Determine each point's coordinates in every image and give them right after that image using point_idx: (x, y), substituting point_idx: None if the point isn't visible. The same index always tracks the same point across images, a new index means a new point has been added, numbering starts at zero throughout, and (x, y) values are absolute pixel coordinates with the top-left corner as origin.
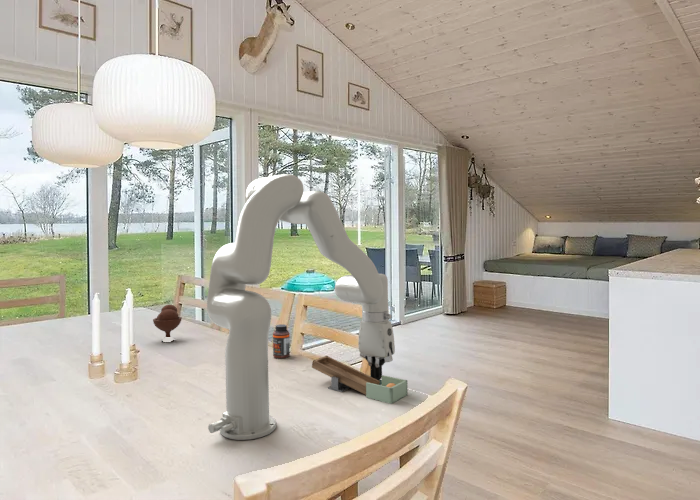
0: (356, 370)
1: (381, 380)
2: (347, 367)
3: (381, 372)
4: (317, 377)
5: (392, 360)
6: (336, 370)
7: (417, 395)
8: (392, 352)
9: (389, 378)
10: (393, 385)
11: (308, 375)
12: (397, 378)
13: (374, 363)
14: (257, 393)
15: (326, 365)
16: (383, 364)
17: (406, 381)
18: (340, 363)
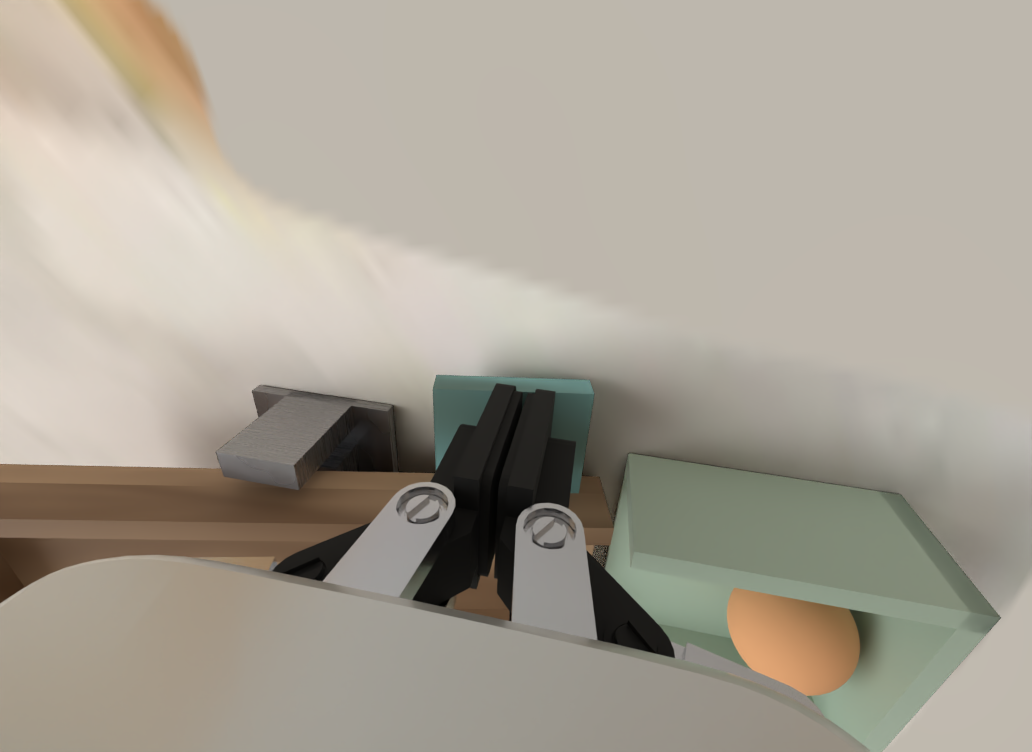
0: (323, 531)
1: (568, 399)
2: (217, 534)
3: (572, 474)
4: (75, 420)
5: (817, 708)
6: (187, 552)
7: (1013, 474)
8: (816, 738)
9: (735, 577)
10: (833, 690)
11: (4, 410)
12: (849, 596)
13: (462, 572)
14: None
15: (60, 551)
16: (581, 526)
17: (983, 624)
18: (111, 537)
